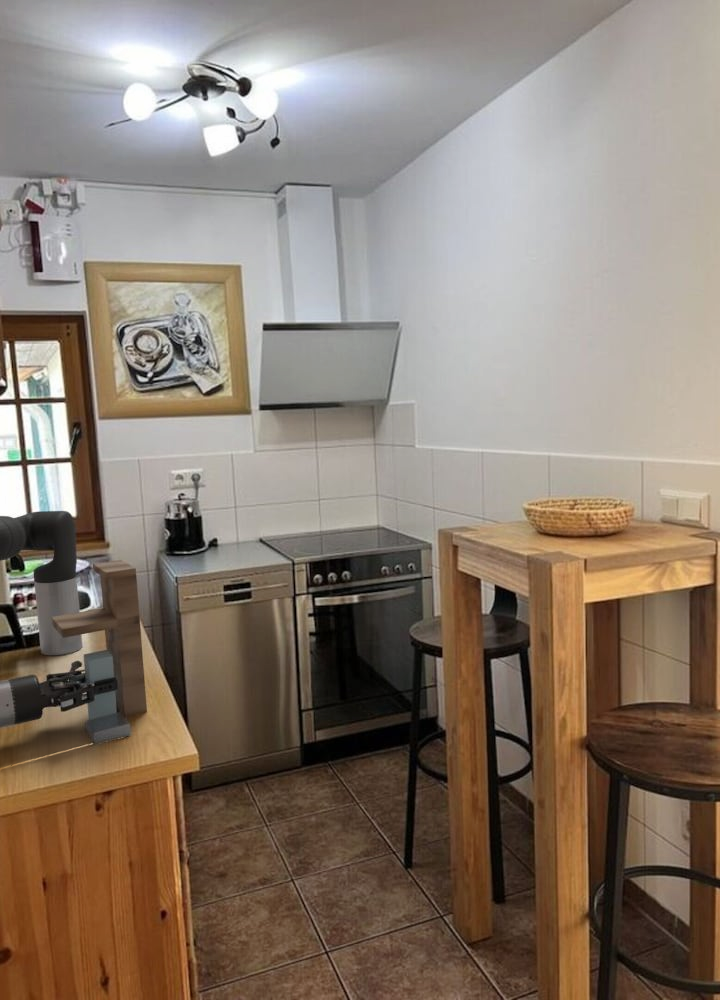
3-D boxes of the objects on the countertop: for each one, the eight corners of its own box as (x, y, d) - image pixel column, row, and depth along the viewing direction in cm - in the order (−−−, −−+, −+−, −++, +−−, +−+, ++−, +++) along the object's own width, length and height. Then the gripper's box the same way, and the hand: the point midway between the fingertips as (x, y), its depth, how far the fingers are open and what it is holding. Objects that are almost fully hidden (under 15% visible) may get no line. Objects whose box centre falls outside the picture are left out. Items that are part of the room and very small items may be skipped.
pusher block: (88, 718, 132) (83, 654, 131) (111, 713, 134) (106, 649, 133) (94, 726, 129) (88, 661, 127) (117, 720, 131) (112, 656, 129)
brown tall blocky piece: (60, 713, 137) (47, 570, 134) (131, 696, 144) (120, 559, 141) (71, 732, 129) (57, 579, 125) (147, 713, 136) (135, 568, 132)
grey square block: (86, 734, 128) (85, 720, 128) (121, 725, 131) (120, 712, 131) (95, 747, 123) (93, 732, 123) (131, 737, 126) (130, 723, 126)
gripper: (12, 694, 116) (122, 670, 126) (0, 669, 128) (102, 649, 137) (17, 739, 117) (126, 712, 126) (4, 710, 129) (105, 687, 138)
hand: (113, 679), depth 132 cm, fingers closed on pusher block, 4 cm apart
